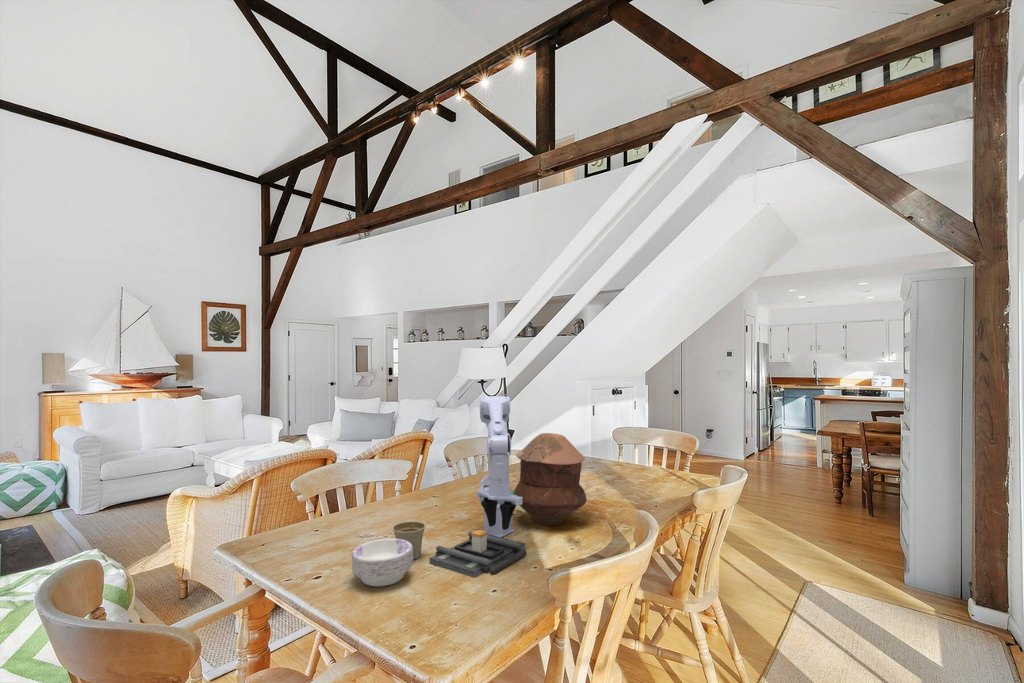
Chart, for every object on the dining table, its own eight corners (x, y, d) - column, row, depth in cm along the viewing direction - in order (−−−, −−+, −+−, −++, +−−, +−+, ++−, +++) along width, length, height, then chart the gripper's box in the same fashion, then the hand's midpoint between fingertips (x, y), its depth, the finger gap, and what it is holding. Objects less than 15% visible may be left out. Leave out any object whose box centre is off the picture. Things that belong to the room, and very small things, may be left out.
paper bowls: (343, 576, 132) (343, 545, 132) (397, 562, 141) (397, 533, 141) (365, 599, 119) (365, 564, 120) (423, 581, 129) (423, 549, 129)
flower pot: (390, 553, 147) (390, 523, 147) (422, 548, 150) (422, 519, 151) (394, 565, 138) (394, 533, 139) (428, 560, 142) (428, 529, 142)
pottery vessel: (501, 514, 183) (501, 431, 184) (563, 506, 193) (563, 427, 194) (532, 538, 159) (532, 442, 160) (601, 527, 169) (600, 437, 170)
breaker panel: (483, 537, 160) (483, 530, 160) (525, 548, 151) (525, 541, 151) (429, 563, 140) (429, 555, 140) (474, 577, 131) (474, 569, 131)
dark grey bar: (471, 540, 158) (471, 529, 158) (521, 553, 147) (521, 542, 147) (467, 541, 156) (467, 531, 156) (517, 555, 145) (517, 544, 145)
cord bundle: (469, 540, 157) (469, 530, 157) (526, 555, 145) (526, 544, 145) (434, 557, 144) (434, 546, 144) (493, 575, 132) (493, 563, 132)
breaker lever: (478, 547, 147) (478, 529, 148) (487, 549, 146) (487, 531, 146) (471, 550, 145) (471, 532, 145) (480, 553, 143) (480, 535, 143)
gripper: (469, 477, 143) (469, 526, 142) (512, 484, 134) (512, 536, 134) (485, 472, 149) (485, 519, 148) (526, 479, 140) (526, 529, 140)
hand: (498, 527), depth 142 cm, fingers open, 4 cm apart
